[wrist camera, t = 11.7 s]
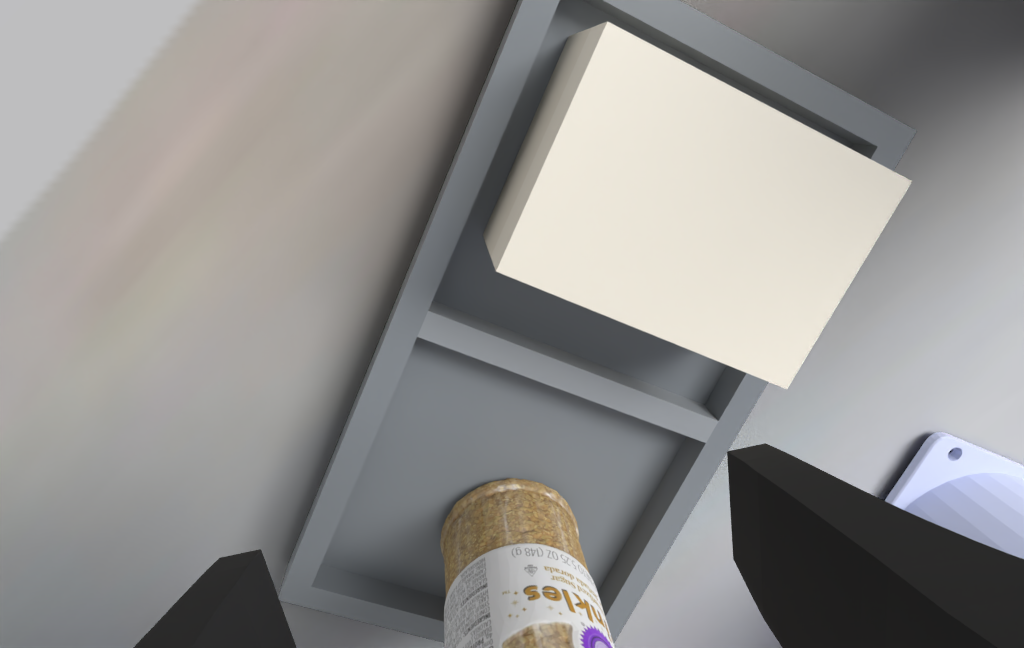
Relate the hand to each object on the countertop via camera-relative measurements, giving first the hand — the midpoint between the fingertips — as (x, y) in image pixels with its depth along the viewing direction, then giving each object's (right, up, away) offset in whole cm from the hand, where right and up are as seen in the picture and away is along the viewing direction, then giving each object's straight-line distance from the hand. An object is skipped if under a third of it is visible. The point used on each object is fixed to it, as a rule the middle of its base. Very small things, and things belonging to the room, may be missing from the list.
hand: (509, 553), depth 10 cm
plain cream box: (+4, +7, +9) cm, 12 cm away
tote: (+2, +2, +11) cm, 11 cm away
